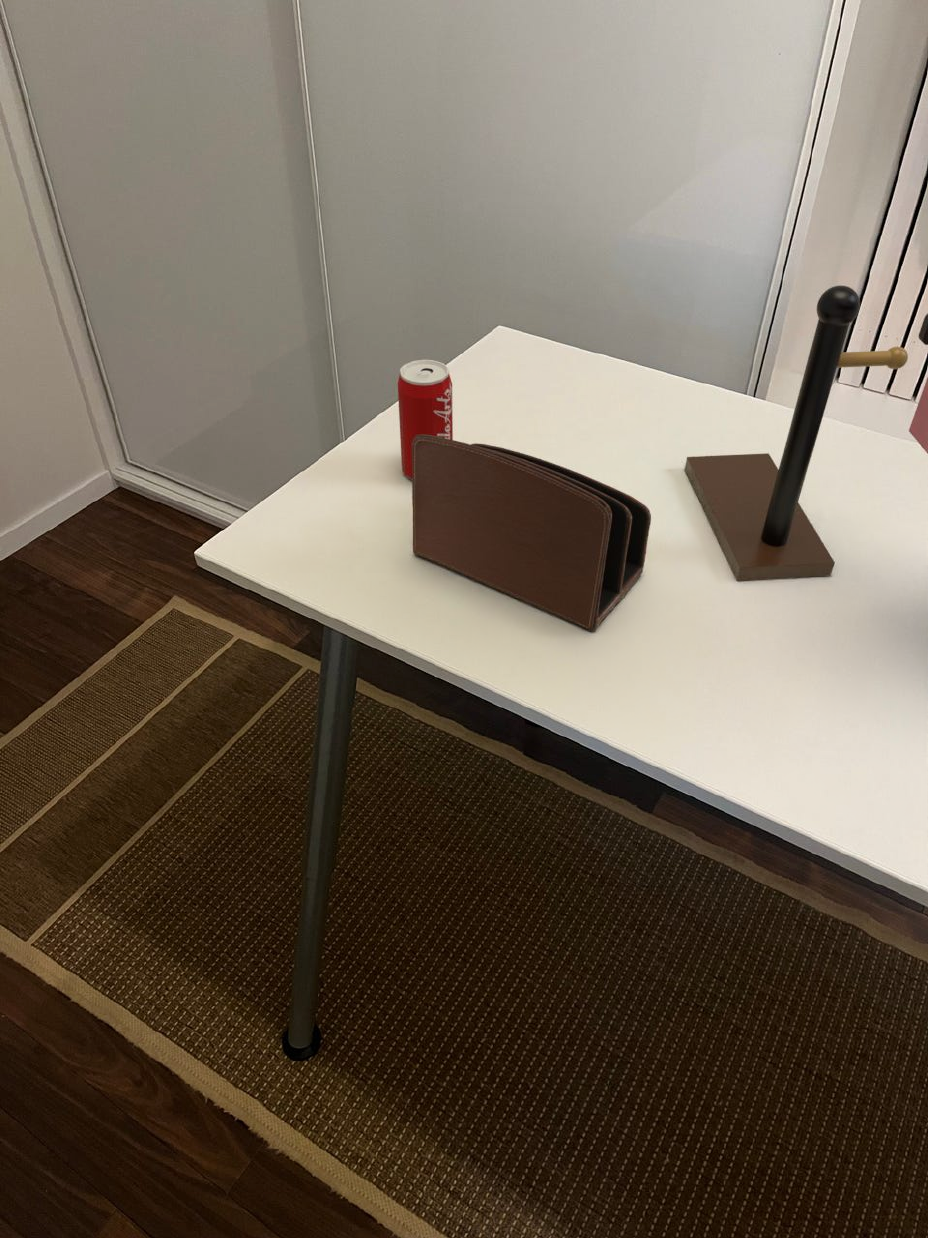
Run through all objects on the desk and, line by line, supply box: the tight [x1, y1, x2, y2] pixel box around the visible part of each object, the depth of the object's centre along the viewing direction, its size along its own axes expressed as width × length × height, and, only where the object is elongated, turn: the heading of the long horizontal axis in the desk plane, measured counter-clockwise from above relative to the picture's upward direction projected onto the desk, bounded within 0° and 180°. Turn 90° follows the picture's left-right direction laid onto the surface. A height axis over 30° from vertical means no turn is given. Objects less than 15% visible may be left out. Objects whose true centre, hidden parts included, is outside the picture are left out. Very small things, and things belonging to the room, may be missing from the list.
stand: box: [684, 285, 909, 582], centre depth 86 cm, size 12×19×26 cm, turn 5°
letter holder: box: [411, 434, 652, 633], centre depth 85 cm, size 10×20×14 cm, turn 56°
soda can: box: [397, 359, 454, 480], centre depth 97 cm, size 6×6×12 cm
